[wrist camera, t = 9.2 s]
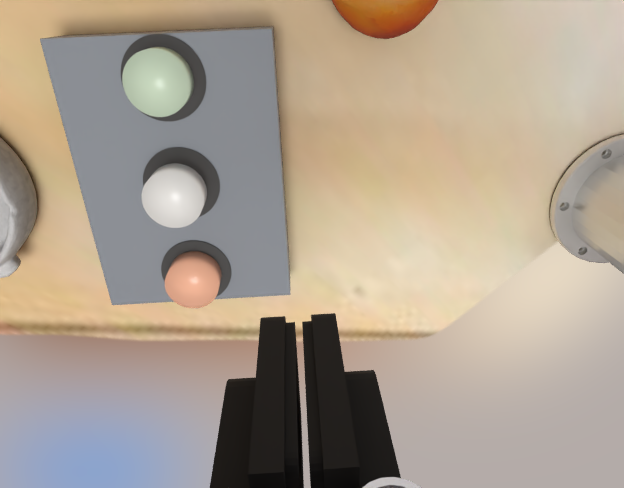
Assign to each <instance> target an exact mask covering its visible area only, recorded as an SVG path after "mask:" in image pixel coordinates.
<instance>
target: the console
mask: <svg viewBox="0 0 624 488" xmlns="http://www.w3.org/2000/svg"><path fill="white" fill-rule="evenodd" d="M40 41H41V45H42V49H43V52H44V56H45V60H46V63H47V67H48V71H49V74H50V78H51V82H52V85H53V89H54V93H55V96H56V100H57V104H58V107H59V111H60V115H61V119H62V122H63V126H64V130H65V133H66V137H67V141H68V144H69V148H70V152H71V155H72V159H73V163H74V166H75V170H76V174H77V177H78V181H79V185H80V188H81V192H82V196H83V200H84V203H85V207H86V211H87V214H88V218H89V222H90V225H91V229H92V233H93V236H94V240H95V244H96V247H97V251H98V255H99V258H100V262H101V266H102V269H103V273H104V277H105V281H106V284H107V288H108V292H109V295H110V299H111V303H112V305H123V304H140V303H157V302H174V301H173V300H172V299H171V298H170V297H169V296H168V294H167V292H166V289H165V278H166V275H167V273H168V271H169V268H170V266H171V264H172V262H173V261H174V259H175V258H176V257H177V256H179V255H181V254H182V253H185V252H190V251H197V252H202V253H205V254H207V255H209V256H211V257H212V258H213V259H215V261H216V262H217V263H218V265H219V266H220V269H221V274H222V276H221V281H220V286H219V290H218V294H217V296H216V298H215V299H225V298H243V297H260V296H277V295H290V265H289V250H288V236H287V221H286V206H285V192H284V177H283V162H282V148H281V133H280V118H279V104H278V89H277V74H276V60H275V45H274V30H273V26H272V27H249V28H226V29H204V30H181V31H158V32H136V33H113V34H90V35H67V36H58V37H50V38H43V39H40ZM152 47H165V48H169V49H171V50H173V51H175V52H177V53H178V54H180V55H181V56H182V57H183V58H184V59H185V60H186V62H187V63H188V65H189V66H190V68H191V71H192V73H193V78H194V89H193V93H192V95H191V97H190V99H189V101H188V102H187V103H186V104H185V105H184V106H183V107H182V108H181V109H180V110H179V111H177V112H176V113H174V114H172V115H170V116H166V117H154V116H150V115H147V114H145V113H143V112H141V111H140V110H138V109H137V108H136V107H135V106H134V105H133V104H132V103H131V102H130V100H129V99H128V97H127V95H126V93H125V91H124V87H123V82H122V75H123V70H124V67H125V64H126V63H127V61H128V60H129V59H130V57H132V56H133V55H134V54H136V53H137V52H139V51H142V50H145V49H148V48H152ZM172 163H178V164H183V165H186V166H189V167H191V168H192V169H194V170H195V171H196V172H197V173H198V174H199V175H200V176H201V177H202V179H203V180H204V182H205V185H206V189H207V198H206V201H205V204H204V206H203V209H202V211H201V214H200V215H199V217H198V218H197V219H196V220H195V221H194V222H193V223H192V224H190V225H188V226H185V227H181V228H170V227H166V226H163V225H160V224H158V223H157V222H155V221H154V220H153V219H152V218H151V217H150V216H149V215H148V214H147V213H146V211H145V209H144V207H143V204H142V190H143V187H144V185H145V183H146V182H147V181H148V179H149V178H150V177H151V176H152V174H153V173H154V172H155V171H156V170H157V169H158V168H160V167H162V166H164V165H167V164H172Z"/></svg>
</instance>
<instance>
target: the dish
mask: <svg viewBox="0 0 624 488" xmlns="http://www.w3.org/2000/svg"><path fill="white" fill-rule="evenodd" d="M36 215H37V197H36V192H35V188H34V185H33V182H32V179H31V177H30V175H29V173H28V171H27V169H26V167H25V166H24V164H23V163H22V161H21V160H20V159H19V157H18V156H17V154H16V153H15V152H14V151H13V150H12V149H11V148H10V146H9V145H8V144H7V143H6V142H5V141H4V140H3V139H1V138H0V278H1V277H8V276H10V275H11V274H12V273H13V272H14V271H16V270H17V268H18V267H19V265H20V263H21V260H20V259H19V258H18V256H17V255H16V253H17V252H18V250H19V249H20V248H21V246H22V245H23V244H24V242H25V241H26V239H27V238H28V236H29V234H30V232H31V231H32V229H33V226H34V223H35V220H36Z"/></svg>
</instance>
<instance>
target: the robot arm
mask: <svg viewBox="0 0 624 488" xmlns="http://www.w3.org/2000/svg"><path fill="white" fill-rule="evenodd" d="M550 221H551V227H552V230H553V232H554V235H555V237H556V239H557V240H558V241H559V242H560V244H561V245H562V246H563V247H564V248H566V249H567V250H568V251H569V252H570V253H571V254H573V255H575V256H576V257H578V258H580V259H583V260H586V261H589V262H598V263H607V262H610V263H611V264H612V265H614V266H615V267H616V268H617V269H618V270H620V271H621V272H622V273H624V134H623V135H619V136H615V137H612V138H610V139H607V140H605V141H603V142H600V143H599V144H597V145H595V146H594V147H592V148H591V149H589V150H587V151H586V152H585V153H584V154H583V155H581V156H580V157H579V158H578V159H577V160H576V161H575V162H574V163H573V164H572V165H571V166H570V167H569V168H568V170H567V171H566V172H565V174H564V175H563V177H562V178H561V180H560V181H559V183H558V185H557V188H556V190H555V192H554V194H553V198H552V202H551V207H550ZM311 319H312V321H308V322H302V324H303V344H304V363H305V384H306V402H307V403H306V404H307V424H308V442H309V443H308V444H309V463H310V481H311V488H422V487H421V486H419V485H417V484H415V483H413V482H411V481H409V480H406V479H401V477H400V473H399V469H398V464H397V461H396V456H395V452H394V448H393V444H392V440H391V435H390V431H389V427H388V423H387V419H386V415H385V411H384V406H383V402H382V398H381V394H380V390H379V386H378V382H377V378H376V374H375V372H374V370H371V371H353V372H344V366H343V359H342V354H341V346H340V340H339V334H338V327H337V321H336V315H335V313H334V314H318V315H311ZM301 430H302V428H301V408H300V393H299V378H298V363H297V348H296V333H295V322H292V323H286V320H285V316H284V317H267V318H261V322H260V334H259V347H258V358H257V371H256V378H242V379H229V380H228V381H227V384H226V389H225V395H224V402H223V408H222V414H221V420H220V427H219V433H218V440H217V445H216V452H215V458H214V464H213V471H212V477H211V483H210V488H304V484H303V457H302V431H301Z"/></svg>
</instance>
